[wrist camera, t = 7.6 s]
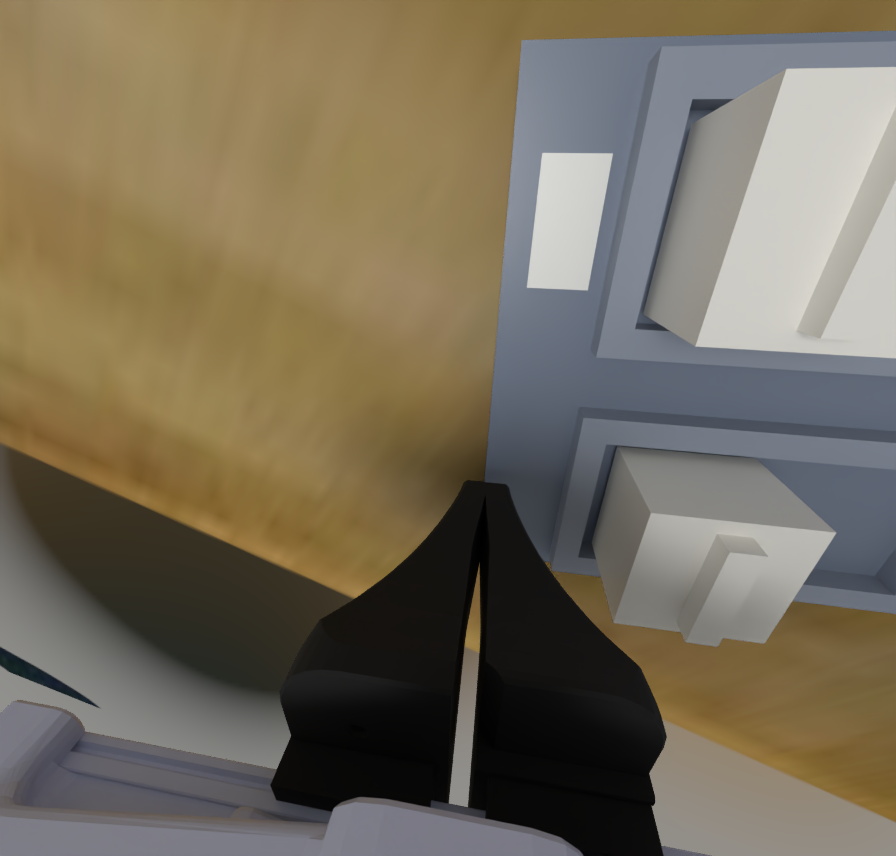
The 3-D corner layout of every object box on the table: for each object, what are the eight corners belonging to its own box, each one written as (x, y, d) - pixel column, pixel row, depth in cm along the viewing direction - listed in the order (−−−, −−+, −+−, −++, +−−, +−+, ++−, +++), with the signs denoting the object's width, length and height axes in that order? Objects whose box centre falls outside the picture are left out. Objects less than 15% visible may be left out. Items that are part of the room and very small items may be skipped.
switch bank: (924, 576, 15) (994, 635, 13) (480, 525, 17) (476, 568, 14) (1368, 53, 8) (1689, -13, 6) (519, 68, 10) (523, 22, 8)
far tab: (710, 556, 13) (778, 665, 10) (591, 542, 14) (618, 642, 10) (755, 458, 11) (857, 552, 8) (617, 446, 12) (659, 530, 9)
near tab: (809, 322, 10) (969, 371, 6) (643, 314, 10) (709, 355, 7) (899, 123, 8) (1193, 43, 4) (691, 123, 8) (816, 51, 5)
